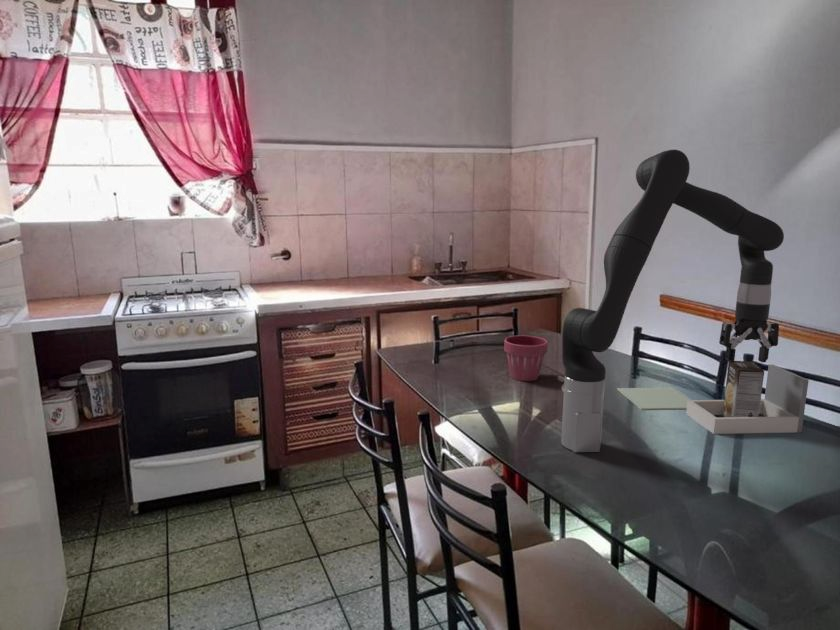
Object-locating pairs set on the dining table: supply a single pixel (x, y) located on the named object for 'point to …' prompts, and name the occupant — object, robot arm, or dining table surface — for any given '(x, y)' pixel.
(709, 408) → the case
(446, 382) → the dining table surface
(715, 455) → the dining table surface
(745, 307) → the robot arm
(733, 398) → the coffee box
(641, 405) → the mat
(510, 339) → the plant pot
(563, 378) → the pliers
